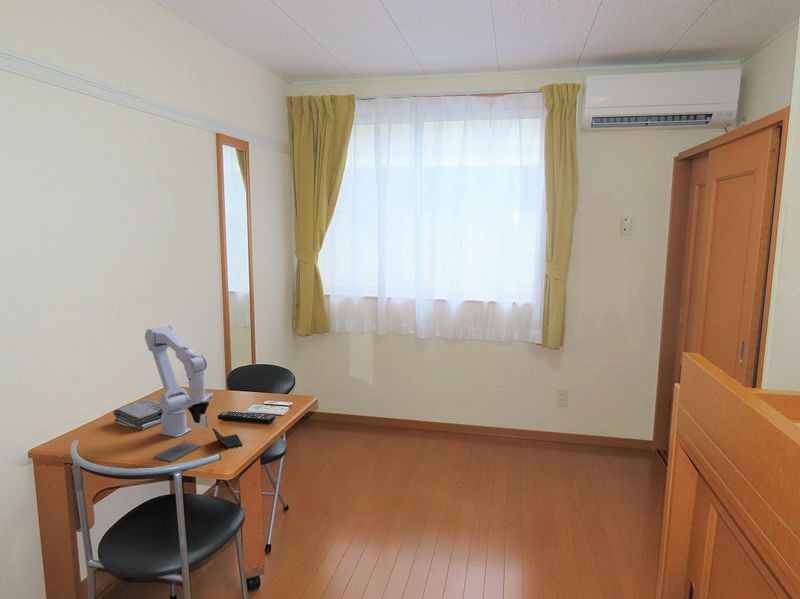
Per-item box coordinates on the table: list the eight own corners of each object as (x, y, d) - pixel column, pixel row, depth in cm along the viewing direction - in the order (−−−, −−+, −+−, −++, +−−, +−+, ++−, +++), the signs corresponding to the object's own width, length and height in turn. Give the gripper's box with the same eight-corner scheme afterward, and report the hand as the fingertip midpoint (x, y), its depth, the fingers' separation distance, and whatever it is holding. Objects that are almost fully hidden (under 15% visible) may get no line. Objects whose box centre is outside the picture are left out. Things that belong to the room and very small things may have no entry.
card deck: (190, 425, 197) (190, 413, 197) (194, 424, 199) (193, 412, 198) (204, 428, 195) (204, 416, 194) (207, 426, 196) (207, 414, 196)
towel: (145, 413, 229) (144, 396, 228) (172, 420, 221) (171, 403, 219) (112, 424, 216) (111, 406, 215) (140, 432, 207) (138, 414, 206)
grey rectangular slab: (153, 457, 184) (153, 456, 184) (183, 442, 197) (183, 441, 197) (171, 462, 181) (171, 461, 181) (201, 446, 193) (201, 445, 193)
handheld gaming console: (247, 440, 195) (229, 424, 191) (234, 456, 192) (215, 439, 188) (237, 435, 204) (220, 419, 200) (224, 449, 201) (206, 434, 197)
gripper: (190, 394, 186) (192, 429, 188) (218, 383, 200) (220, 416, 202) (176, 392, 189) (178, 427, 191) (204, 381, 202) (206, 413, 204)
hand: (199, 421), depth 197 cm, fingers closed on card deck, 2 cm apart
